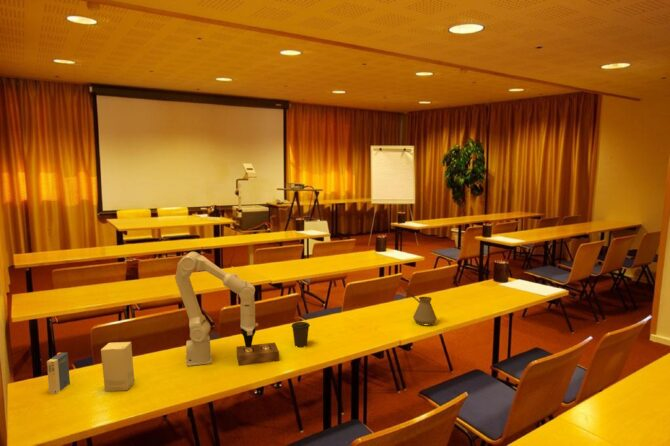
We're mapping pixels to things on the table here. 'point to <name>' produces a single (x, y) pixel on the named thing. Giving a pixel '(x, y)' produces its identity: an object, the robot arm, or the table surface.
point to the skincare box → (117, 366)
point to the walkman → (58, 373)
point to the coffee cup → (300, 333)
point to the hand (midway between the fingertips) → (248, 346)
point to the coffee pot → (423, 310)
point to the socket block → (257, 354)
